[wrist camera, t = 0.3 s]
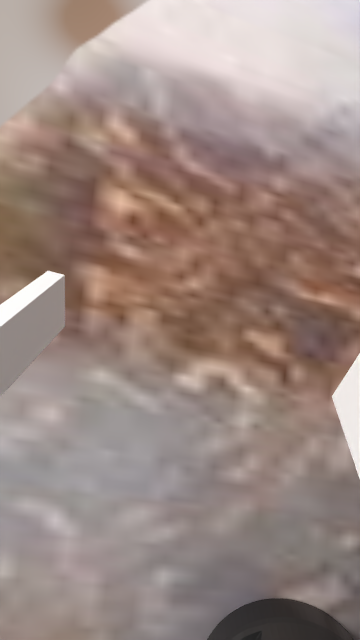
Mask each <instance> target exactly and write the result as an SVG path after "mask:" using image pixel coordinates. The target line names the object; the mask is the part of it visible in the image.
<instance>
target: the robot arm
mask: <svg viewBox="0 0 360 640" xmlns="http://www.w3.org/2000/svg"><path fill="white" fill-rule="evenodd" d="M64 327H65V275H62V274H58V273H54V272H51V271H47V272H46V273H44V274H43V275H42V276H40V277H39V278H37V279H36V280H35V281H33V282H32V283H30V284H29V285H28V286H26V287H25V288H23V289H22V290H21V291H19V292H18V293H16V294H15V295H14V296H12V297H11V298H9V299H8V300H7V301H5V302H4V303H2V304H1V305H0V397H1V396H2V395H3V394H4V392H5V391H6V390H7V389H8V388H9V387H10V386H11V385H12V384H13V383H14V382H15V380H16V379H17V378H18V377H19V376H20V375H21V374H22V373H23V372H24V371H25V369H26V368H27V367H28V366H29V365H30V364H31V363H32V362H33V361H34V360H35V359H36V357H37V356H38V355H39V354H40V353H41V352H42V351H43V350H44V349H45V348H46V347H47V345H48V344H49V343H50V342H51V341H52V340H53V339H54V338H55V337H56V336H57V334H58V333H59V332H60V331H61V330H62V329H63V328H64ZM332 398H333V401H334V404H335V407H336V410H337V413H338V416H339V419H340V422H341V425H342V428H343V431H344V434H345V437H346V440H347V443H348V446H349V449H350V452H351V455H352V458H353V461H354V463H355V466H356V469H357V472H358V475H359V478H360V354H359V355H358V357H357V359H356V360H355V362H354V363H353V365H352V366H351V368H350V369H349V371H348V372H347V374H346V376H345V377H344V379H343V380H342V382H341V383H340V385H339V386H338V388H337V389H336V391H335V392H334V394H333V396H332ZM207 640H353V638H352V637H351V636H350V635H349V633H348V632H347V631H346V630H345V629H344V628H343V627H342V626H341V625H340V624H339V623H338V622H337V621H335V620H334V619H333V618H332V617H330V616H329V615H327V614H326V613H324V612H323V611H321V610H319V609H317V608H315V607H313V606H310V605H308V604H305V603H302V602H298V601H294V600H287V599H267V600H261V601H256V602H253V603H250V604H247V605H245V606H243V607H240V608H239V609H237V610H235V611H233V612H232V613H231V614H229V615H228V616H227V617H225V618H224V619H223V620H222V621H221V622H220V623H219V624H218V625H217V626H216V628H215V629H214V630H213V631H212V633H211V634H210V636H209V638H208V639H207Z"/></svg>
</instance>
